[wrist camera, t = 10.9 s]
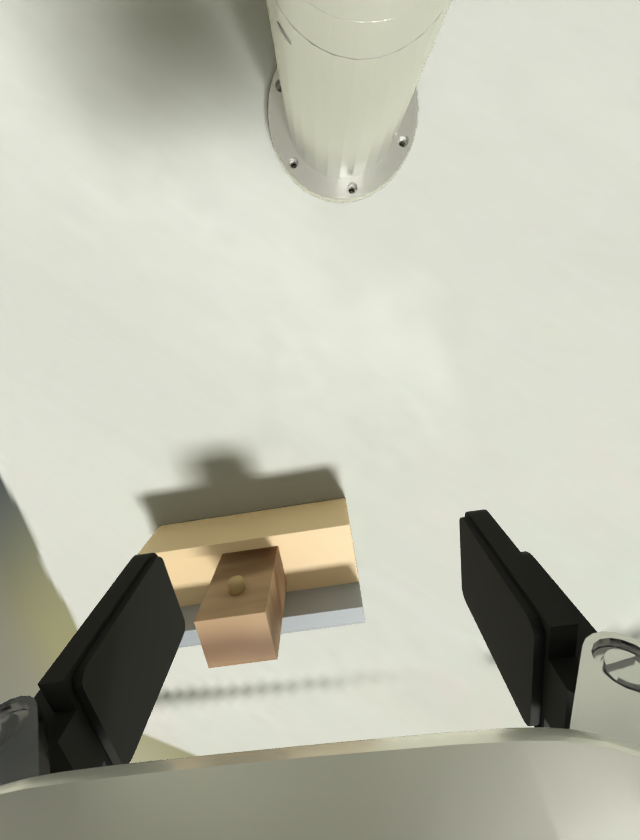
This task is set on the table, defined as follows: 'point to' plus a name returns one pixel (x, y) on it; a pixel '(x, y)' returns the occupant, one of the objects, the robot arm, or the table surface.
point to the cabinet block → (243, 608)
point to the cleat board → (300, 553)
